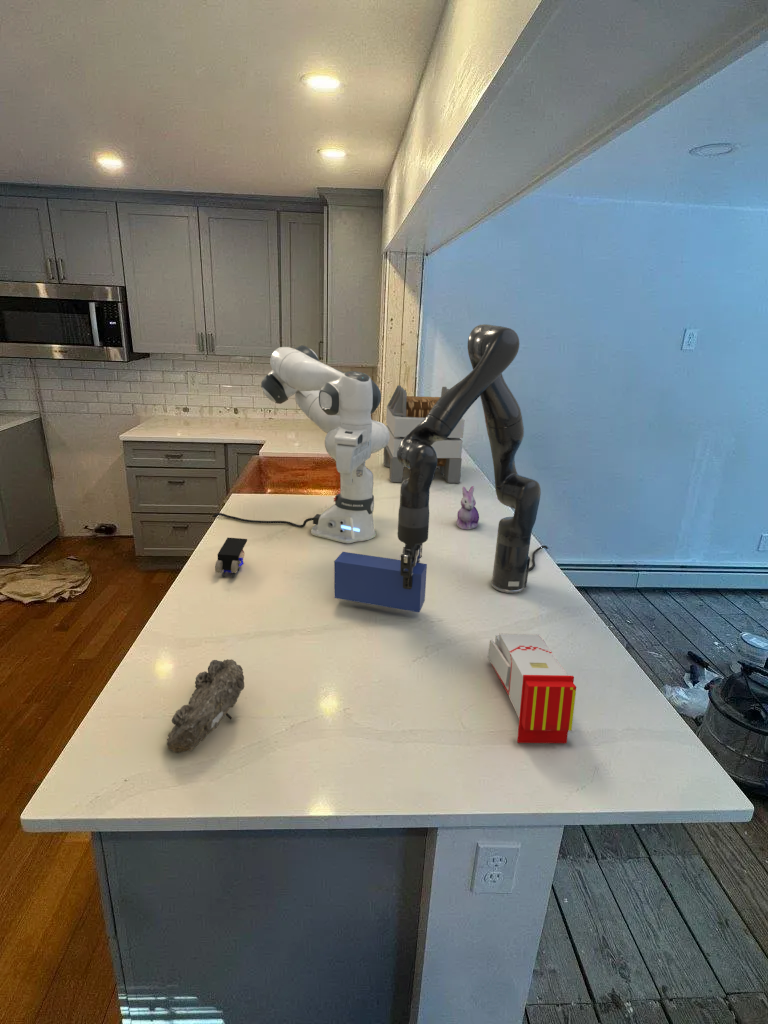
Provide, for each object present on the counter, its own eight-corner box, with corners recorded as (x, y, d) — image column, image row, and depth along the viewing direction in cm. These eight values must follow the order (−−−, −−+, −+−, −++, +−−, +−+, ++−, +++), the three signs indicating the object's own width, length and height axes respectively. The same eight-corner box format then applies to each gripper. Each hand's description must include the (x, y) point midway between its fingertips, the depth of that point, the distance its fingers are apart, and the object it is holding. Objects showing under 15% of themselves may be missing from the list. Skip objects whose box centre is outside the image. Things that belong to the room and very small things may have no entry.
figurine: (464, 532, 204) (468, 492, 199) (449, 522, 212) (452, 484, 207) (486, 528, 208) (490, 489, 203) (469, 519, 216) (473, 481, 211)
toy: (536, 617, 130) (585, 683, 100) (531, 671, 132) (578, 750, 103) (483, 616, 129) (518, 682, 100) (479, 670, 132) (511, 749, 103)
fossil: (192, 660, 117) (244, 628, 112) (224, 691, 120) (276, 661, 115) (142, 746, 98) (202, 712, 93) (182, 779, 101) (242, 748, 96)
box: (334, 598, 148) (334, 561, 145) (342, 587, 154) (342, 551, 150) (419, 612, 143) (421, 574, 139) (424, 600, 148) (426, 563, 145)
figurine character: (238, 584, 162) (249, 557, 175) (236, 562, 158) (247, 536, 172) (215, 584, 161) (227, 556, 175) (212, 561, 158) (225, 535, 171)
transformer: (382, 463, 289) (386, 382, 275) (445, 464, 293) (451, 384, 279) (390, 482, 257) (394, 392, 243) (460, 483, 261) (468, 394, 247)
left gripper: (356, 424, 167) (355, 470, 172) (331, 438, 148) (331, 489, 153) (377, 426, 165) (375, 472, 170) (354, 441, 147) (353, 491, 151)
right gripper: (422, 534, 131) (418, 597, 137) (434, 513, 144) (430, 572, 150) (390, 529, 133) (388, 593, 139) (405, 509, 146) (403, 568, 152)
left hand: (354, 480), depth 161 cm, fingers open, 8 cm apart
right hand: (410, 582), depth 144 cm, fingers closed on box, 6 cm apart
